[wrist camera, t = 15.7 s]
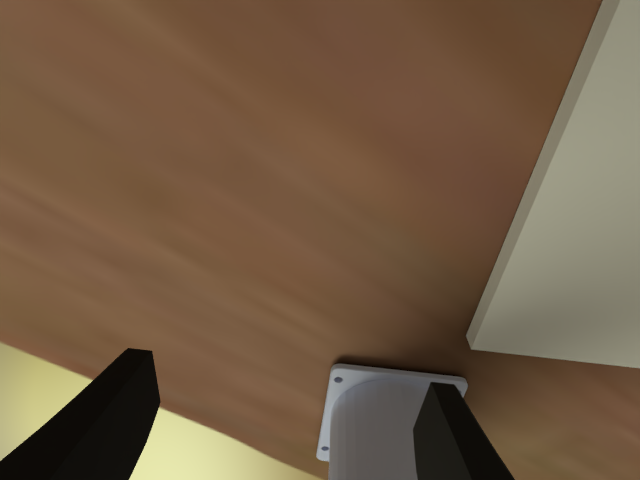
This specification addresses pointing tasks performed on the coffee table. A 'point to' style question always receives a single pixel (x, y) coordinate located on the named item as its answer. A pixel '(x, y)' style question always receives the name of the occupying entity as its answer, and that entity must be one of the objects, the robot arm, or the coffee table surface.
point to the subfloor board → (578, 218)
